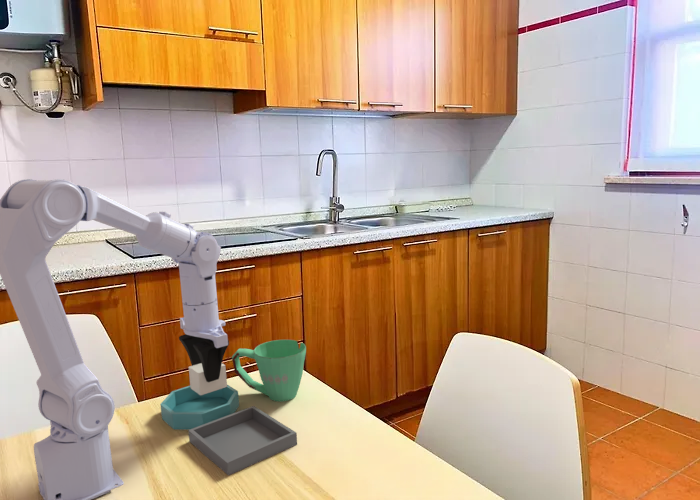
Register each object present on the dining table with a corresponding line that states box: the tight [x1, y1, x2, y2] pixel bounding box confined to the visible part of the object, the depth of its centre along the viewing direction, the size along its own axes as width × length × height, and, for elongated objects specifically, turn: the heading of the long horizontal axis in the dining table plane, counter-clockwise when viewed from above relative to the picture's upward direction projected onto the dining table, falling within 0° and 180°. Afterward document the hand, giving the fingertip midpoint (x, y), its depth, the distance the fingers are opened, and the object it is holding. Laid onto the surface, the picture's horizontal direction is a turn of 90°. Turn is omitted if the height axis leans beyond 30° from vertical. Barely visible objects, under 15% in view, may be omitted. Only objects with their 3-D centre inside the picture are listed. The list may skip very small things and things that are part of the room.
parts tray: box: [187, 405, 298, 477], centre depth 88 cm, size 12×13×2 cm
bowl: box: [160, 384, 240, 431], centre depth 99 cm, size 13×13×3 cm
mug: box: [231, 339, 307, 403], centre depth 105 cm, size 15×10×10 cm
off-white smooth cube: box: [188, 363, 228, 396], centre depth 96 cm, size 5×4×4 cm
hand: (206, 376), depth 96 cm, fingers closed on off-white smooth cube, 4 cm apart
